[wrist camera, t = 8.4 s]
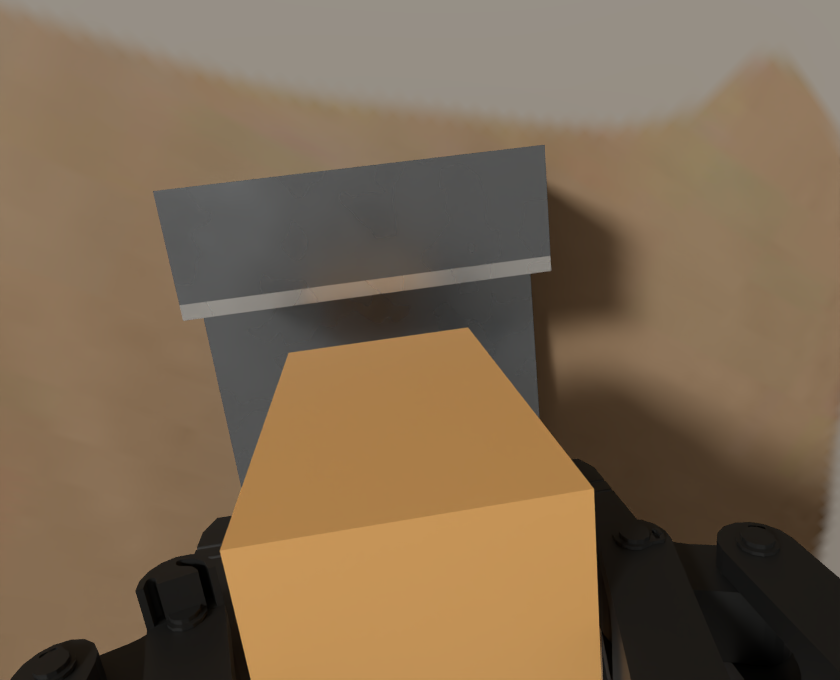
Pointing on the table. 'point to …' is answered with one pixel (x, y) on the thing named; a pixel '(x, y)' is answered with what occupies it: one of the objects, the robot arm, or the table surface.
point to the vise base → (358, 266)
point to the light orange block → (411, 524)
